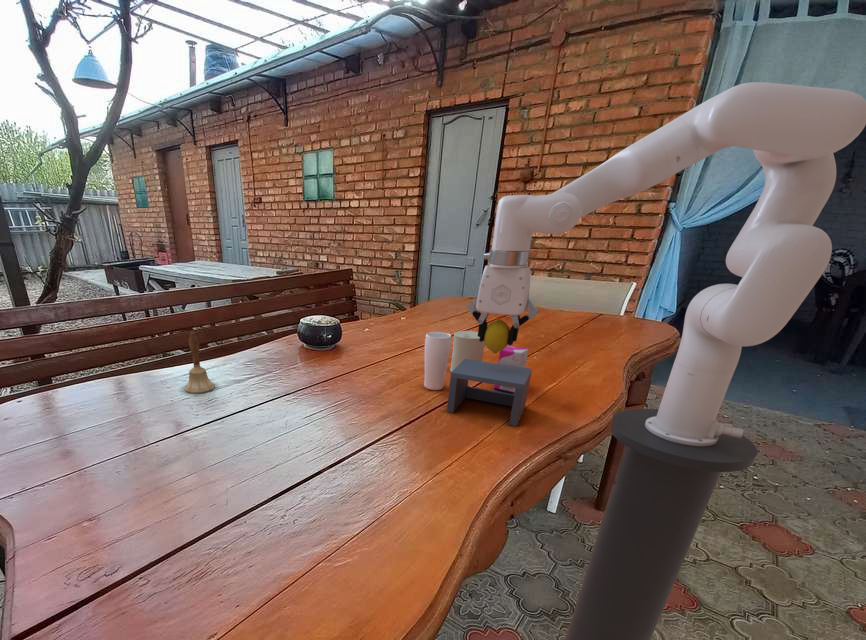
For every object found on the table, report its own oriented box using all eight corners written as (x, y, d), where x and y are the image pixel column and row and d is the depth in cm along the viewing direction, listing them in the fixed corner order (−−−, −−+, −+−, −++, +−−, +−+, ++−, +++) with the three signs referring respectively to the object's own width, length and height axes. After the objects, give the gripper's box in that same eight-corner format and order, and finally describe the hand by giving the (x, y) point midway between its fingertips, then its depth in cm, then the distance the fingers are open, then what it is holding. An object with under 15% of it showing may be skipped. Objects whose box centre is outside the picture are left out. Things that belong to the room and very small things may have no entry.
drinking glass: (416, 388, 118) (420, 335, 112) (428, 381, 123) (432, 330, 117) (439, 393, 114) (444, 339, 108) (450, 386, 119) (456, 334, 113)
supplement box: (522, 388, 117) (529, 348, 112) (514, 394, 113) (521, 353, 108) (501, 383, 120) (507, 344, 116) (493, 389, 116) (499, 349, 112)
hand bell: (218, 382, 124) (211, 328, 117) (209, 393, 116) (202, 336, 110) (190, 382, 124) (181, 328, 118) (180, 393, 116) (170, 336, 110)
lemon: (503, 350, 101) (508, 316, 98) (510, 357, 96) (516, 322, 93) (479, 349, 101) (484, 316, 98) (485, 356, 96) (490, 321, 93)
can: (444, 371, 130) (448, 333, 125) (458, 364, 136) (462, 327, 132) (473, 378, 124) (478, 338, 120) (486, 370, 131) (491, 332, 126)
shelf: (524, 407, 105) (532, 368, 101) (516, 426, 96) (524, 384, 92) (460, 395, 113) (464, 358, 109) (446, 411, 103) (450, 372, 99)
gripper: (463, 259, 91) (454, 341, 99) (551, 262, 83) (534, 351, 90) (472, 256, 97) (463, 333, 105) (555, 259, 89) (539, 343, 96)
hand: (496, 341), depth 97 cm, fingers closed on lemon, 5 cm apart
